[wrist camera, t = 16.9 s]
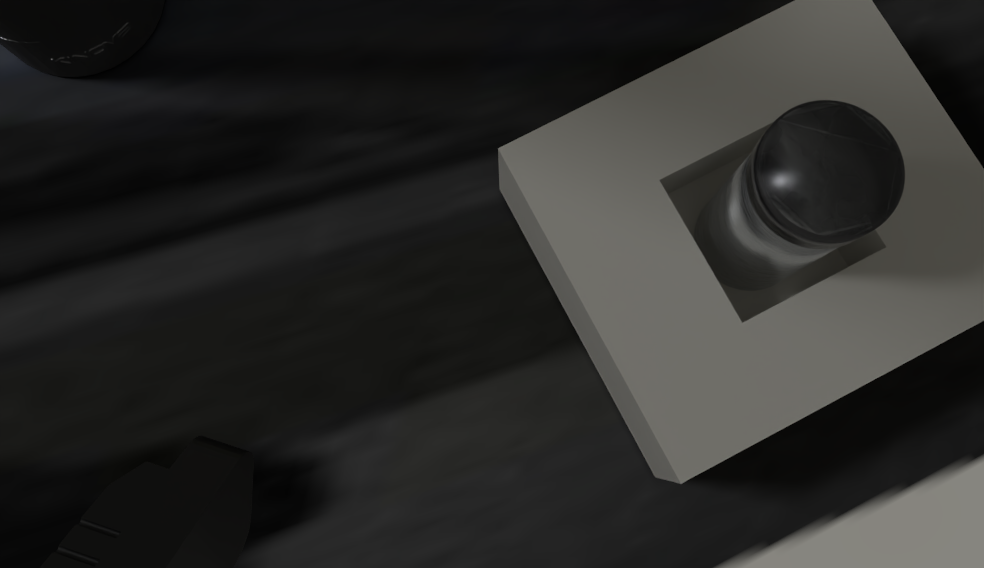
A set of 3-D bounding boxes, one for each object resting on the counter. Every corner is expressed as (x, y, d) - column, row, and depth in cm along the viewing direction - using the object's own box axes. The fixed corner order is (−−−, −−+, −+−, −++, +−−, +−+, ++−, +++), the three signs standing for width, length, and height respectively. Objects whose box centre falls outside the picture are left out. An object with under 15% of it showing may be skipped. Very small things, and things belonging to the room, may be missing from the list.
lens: (671, 217, 39) (729, 140, 29) (764, 167, 40) (852, 75, 30) (729, 312, 38) (809, 265, 29) (823, 260, 39) (933, 196, 29)
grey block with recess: (499, 189, 42) (498, 148, 36) (806, 35, 43) (852, -29, 37) (655, 477, 39) (680, 483, 33) (977, 303, 40) (1058, 280, 34)
